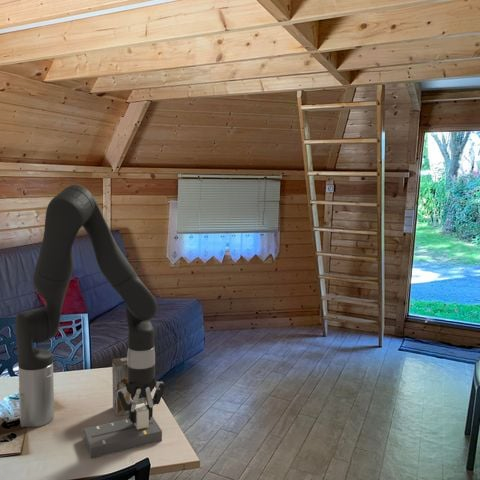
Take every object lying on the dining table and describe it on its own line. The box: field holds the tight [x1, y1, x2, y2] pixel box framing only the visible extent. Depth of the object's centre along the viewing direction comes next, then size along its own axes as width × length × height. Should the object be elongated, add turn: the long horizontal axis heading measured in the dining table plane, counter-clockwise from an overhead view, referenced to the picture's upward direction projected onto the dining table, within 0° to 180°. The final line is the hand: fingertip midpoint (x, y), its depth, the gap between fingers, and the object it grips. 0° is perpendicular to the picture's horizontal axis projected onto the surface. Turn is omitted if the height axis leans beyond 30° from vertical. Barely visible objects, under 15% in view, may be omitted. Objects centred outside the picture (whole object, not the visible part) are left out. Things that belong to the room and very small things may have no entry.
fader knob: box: [134, 403, 149, 430], centre depth 131 cm, size 3×4×5 cm
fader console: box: [83, 416, 163, 460], centre depth 129 cm, size 19×10×3 cm, turn 118°
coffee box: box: [111, 356, 147, 417], centre depth 145 cm, size 9×6×16 cm
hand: (140, 420), depth 131 cm, fingers open, 3 cm apart
